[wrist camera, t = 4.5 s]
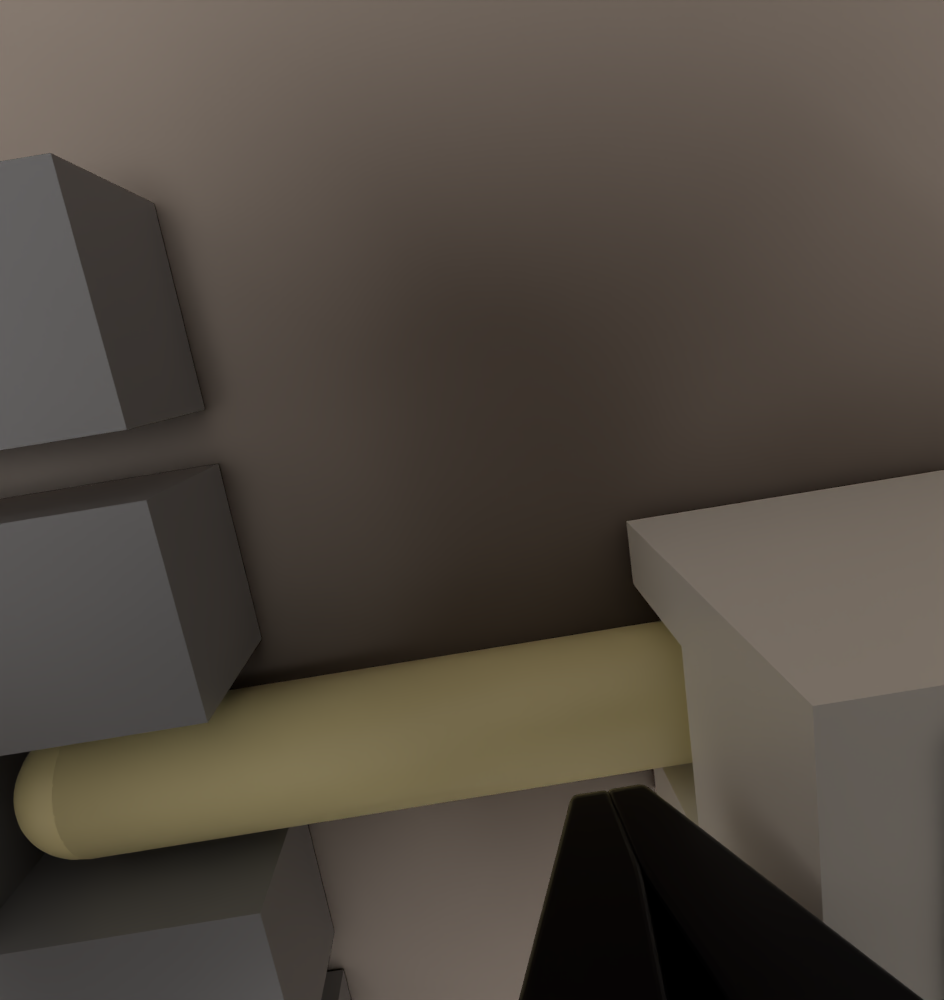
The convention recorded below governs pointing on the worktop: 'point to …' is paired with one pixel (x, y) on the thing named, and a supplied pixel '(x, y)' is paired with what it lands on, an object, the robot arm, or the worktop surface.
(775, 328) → the worktop surface
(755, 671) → the grey block
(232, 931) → the cord rig
